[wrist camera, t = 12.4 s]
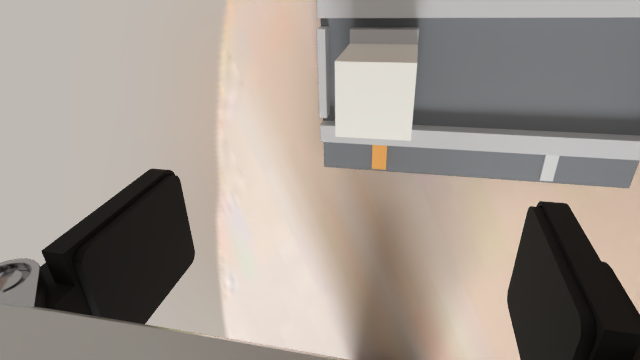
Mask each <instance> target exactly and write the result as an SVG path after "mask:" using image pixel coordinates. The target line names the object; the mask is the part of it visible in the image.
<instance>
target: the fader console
mask: <svg viewBox="0 0 640 360" xmlns="http://www.w3.org/2000/svg"><path fill="white" fill-rule="evenodd" d="M317 18H321V27H319V28H318V29H317V49H318V85H319V118H323V122H322V123H321V125H320V133H321V142H324V167H336V168H350V169H364V170H378V171H392V172H406V173H420V174H434V175H448V176H463V177H477V178H491V179H505V180H519V181H533V182H547V183H561V184H575V185H590V186H604V187H618V188H629V187H630V185H631V182H632V179H633V176H634V174H635V171H636V168H637V166H638V163H639V160H640V0H317ZM352 27H419V38H418V59H417V73H416V85H415V98H414V110H413V122H412V134H411V141H404V140H386V139H368V138H350V137H335V60H336V59H337V58H338V57H339V56H340V54H341V53H342V52H343V51H344V50H345V49H346V47H347V46H348V45H349V44H350V29H351V28H352Z"/></svg>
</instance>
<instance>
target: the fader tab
mask: <svg viewBox="0 0 640 360" xmlns="http://www.w3.org/2000/svg"><path fill="white" fill-rule="evenodd" d="M418 38H419V27H352V28H351V29H350V44H349V45H348V46H347V47H346V49H345V50H344V51H343V52H342V53H341V54H340V56H339V57H338V58H337V59H336V60H335V137H350V138H368V139H386V140H404V141H411V134H412V122H413V110H414V98H415V85H416V73H417V59H418Z"/></svg>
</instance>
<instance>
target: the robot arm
mask: <svg viewBox="0 0 640 360" xmlns="http://www.w3.org/2000/svg"><path fill="white" fill-rule="evenodd" d="M42 254H43V256H44V258H45V261H46V263H45V264H44V265H42V266H41V267H40V266H39V264H38V263H37V262H36V261H34V260H31V259H14V260H9V261H5V262H2V263H0V360H348V359H343V358H337V357H331V356H326V355H320V354H315V353H309V352H303V351H297V350H292V349H286V348H280V347H274V346H269V345H263V344H257V343H251V342H246V341H240V340H234V339H228V338H222V337H216V336H210V335H205V334H199V333H193V332H187V331H181V330H175V329H169V328H163V327H157V326H150V325H145V323H146V322H147V321H148V319H149V318H150V317H151V315H152V314H153V313H154V312H155V310H156V309H157V308H158V306H159V305H160V304H161V302H162V301H163V300H164V299H165V297H166V296H167V295H168V294H169V292H170V291H171V290H172V288H173V287H174V286H175V284H176V283H177V282H178V281H179V279H180V278H181V277H182V275H183V274H184V273H185V272H186V270H187V269H188V268H189V266H190V265H191V264H192V262H193V260H194V255H195V250H194V245H193V240H192V236H191V231H190V226H189V221H188V216H187V212H186V206H185V202H184V197H183V192H182V187H181V183H180V179H179V177H178V176H175V174H174V172H173V171H171V170H161V169H150V170H148V171H147V172H146V173H144V174H143V175H142V176H140V177H139V178H138V179H136V180H135V181H134V182H132V183H131V184H130V185H128V186H127V187H126V188H124V189H123V190H122V191H120V192H119V193H118V194H116V195H115V196H114V197H112V198H111V199H110V200H108V201H107V202H106V203H104V204H103V205H102V206H100V207H99V208H98V209H96V210H95V211H94V212H93V213H91V214H90V215H88V216H87V217H86V218H84V219H83V220H82V221H80V222H79V223H78V224H77V225H75V226H74V227H73V228H71V229H70V230H69V231H67V232H66V233H65V234H63V235H62V236H61V237H59V238H58V239H57V240H55V241H54V242H53V243H52V244H50V245H49V246H47V247H46V248H45V249H43V250H42ZM507 302H508V308H509V313H510V317H511V321H512V325H513V329H514V333H515V338H516V342H517V346H518V350H519V354H520V359H521V360H640V314H639V313H638V311H637V310H636V308H635V306H634V305H633V303H632V301H631V300H630V298H629V296H628V295H627V293H626V291H625V290H624V288H623V286H622V285H621V283H620V281H619V280H618V278H617V277H616V275H615V273H614V272H613V270H612V268H611V267H610V266H609V265H608V264H607V263H605V262H601V260H600V258H599V257H598V255H597V253H596V252H595V250H594V248H593V247H592V245H591V243H590V241H589V240H588V238H587V236H586V235H585V233H584V231H583V229H582V228H581V226H580V224H579V223H578V221H577V219H576V218H575V216H574V214H573V212H572V211H571V209H570V207H569V206H568V205H567V204H565V203H554V202H542V201H540V202H539V203H538V205H537V207H532V206H530V207H529V209H528V212H527V216H526V220H525V224H524V228H523V232H522V236H521V240H520V244H519V248H518V252H517V256H516V260H515V265H514V269H513V273H512V277H511V281H510V285H509V289H508V296H507Z"/></svg>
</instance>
